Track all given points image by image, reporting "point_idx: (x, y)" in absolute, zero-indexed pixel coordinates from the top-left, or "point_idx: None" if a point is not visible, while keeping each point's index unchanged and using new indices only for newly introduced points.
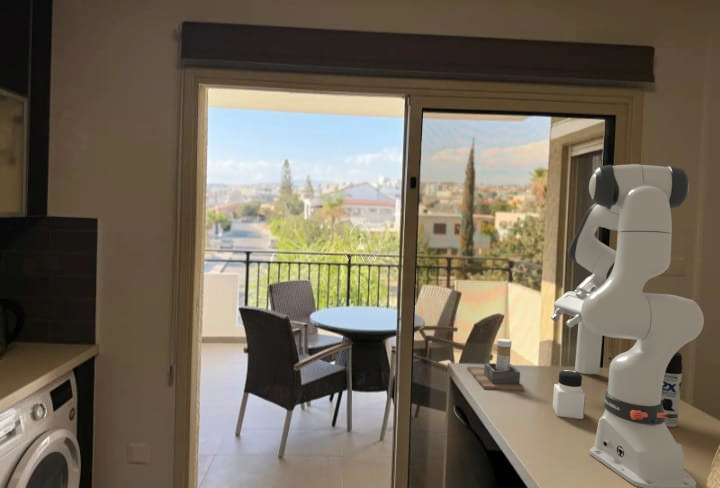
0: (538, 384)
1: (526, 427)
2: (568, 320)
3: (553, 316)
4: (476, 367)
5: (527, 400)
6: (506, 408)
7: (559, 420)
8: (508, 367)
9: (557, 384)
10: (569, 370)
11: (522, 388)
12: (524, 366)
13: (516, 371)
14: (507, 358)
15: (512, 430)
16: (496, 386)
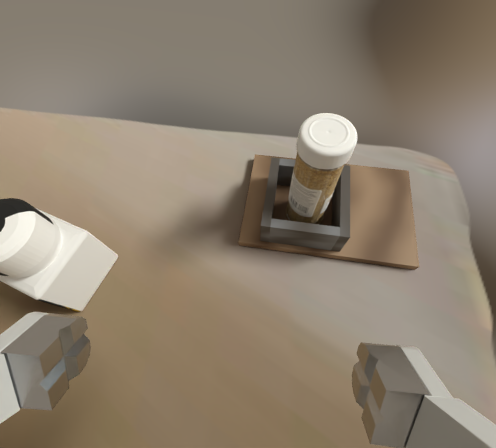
0: (284, 318)
1: (57, 154)
2: (48, 341)
3: (393, 359)
4: (404, 190)
5: (172, 219)
6: (143, 158)
7: None
8: (293, 202)
9: (73, 233)
10: (7, 236)
11: (239, 240)
12: (491, 383)
13: (270, 218)
14: (293, 179)
15: (58, 130)
16: (250, 179)
